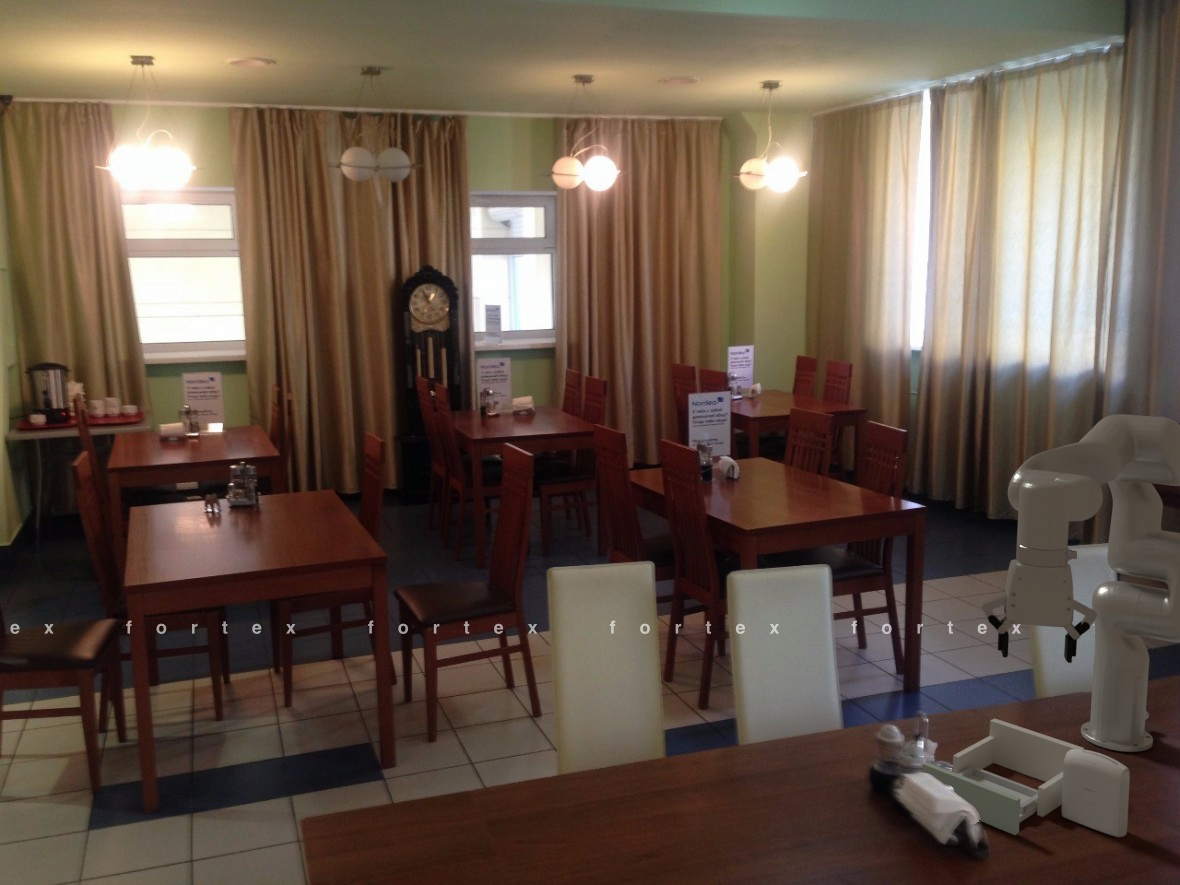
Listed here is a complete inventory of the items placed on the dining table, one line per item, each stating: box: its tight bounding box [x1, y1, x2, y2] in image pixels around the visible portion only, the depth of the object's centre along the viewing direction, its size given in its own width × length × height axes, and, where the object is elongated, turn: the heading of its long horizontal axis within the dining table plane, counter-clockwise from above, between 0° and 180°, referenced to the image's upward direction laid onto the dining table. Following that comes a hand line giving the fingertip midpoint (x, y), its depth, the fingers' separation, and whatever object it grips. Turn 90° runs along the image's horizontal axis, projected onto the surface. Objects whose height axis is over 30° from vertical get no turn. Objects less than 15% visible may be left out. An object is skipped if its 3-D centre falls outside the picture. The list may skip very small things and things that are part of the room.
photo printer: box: [1061, 749, 1131, 838], centre depth 169 cm, size 10×4×12 cm, turn 39°
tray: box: [922, 762, 1038, 836], centre depth 177 cm, size 14×17×6 cm
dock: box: [952, 717, 1085, 818], centre depth 183 cm, size 14×17×8 cm
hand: (1035, 657), depth 168 cm, fingers open, 9 cm apart
